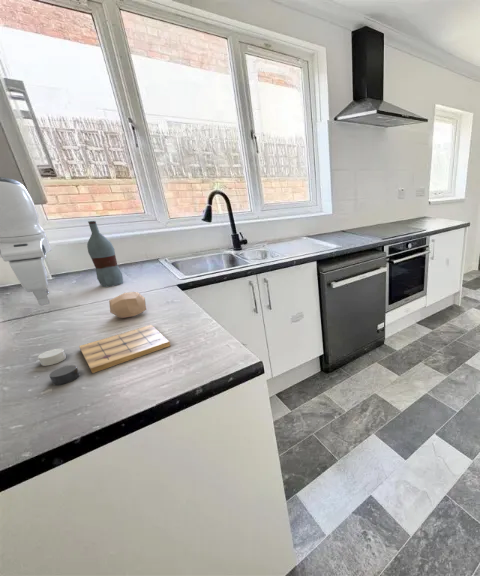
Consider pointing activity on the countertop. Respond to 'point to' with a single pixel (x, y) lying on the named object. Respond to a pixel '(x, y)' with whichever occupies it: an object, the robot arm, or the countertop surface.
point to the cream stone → (52, 357)
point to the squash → (127, 305)
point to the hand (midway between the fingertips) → (44, 299)
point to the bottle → (103, 258)
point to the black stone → (64, 375)
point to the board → (122, 347)
